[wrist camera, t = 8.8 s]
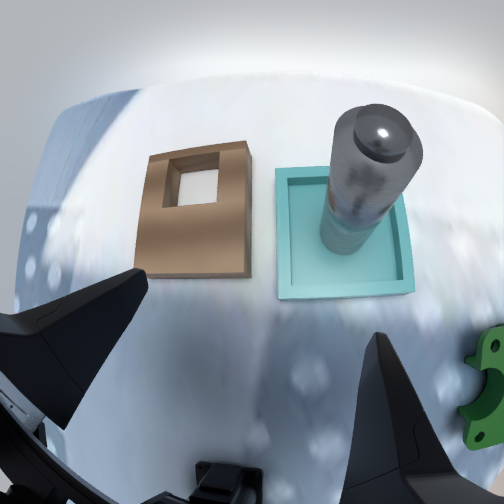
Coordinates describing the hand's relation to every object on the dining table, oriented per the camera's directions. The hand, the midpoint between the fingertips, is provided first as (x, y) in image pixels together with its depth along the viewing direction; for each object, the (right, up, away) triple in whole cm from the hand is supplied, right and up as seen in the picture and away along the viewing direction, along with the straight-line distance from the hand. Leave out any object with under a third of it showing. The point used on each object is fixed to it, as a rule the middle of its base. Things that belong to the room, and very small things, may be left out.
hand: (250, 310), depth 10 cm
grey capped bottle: (+8, +4, +13) cm, 15 cm away
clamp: (+22, -11, +8) cm, 26 cm away
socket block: (-5, +5, +16) cm, 18 cm away
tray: (+8, +3, +14) cm, 16 cm away
